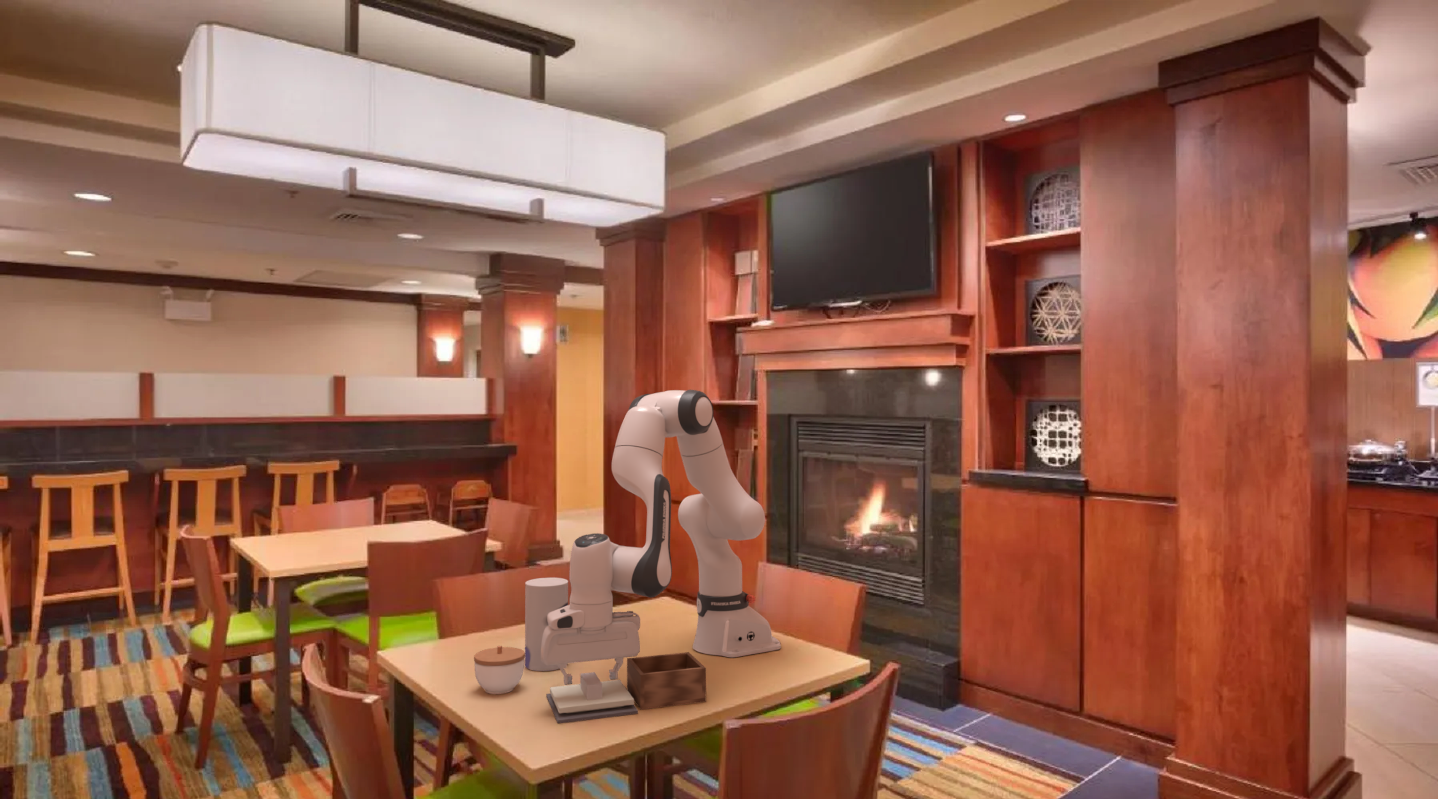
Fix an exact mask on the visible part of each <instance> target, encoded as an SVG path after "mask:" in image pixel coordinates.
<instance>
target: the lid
mask: <svg viewBox="0 0 1438 799" xmlns="http://www.w3.org/2000/svg"><path fill="white" fill-rule="evenodd" d="M579 676H580V678H579V679H580V683H578V684H570V685H559V686H558V685H557V686H551V687H550V686H549V694H550V693H551V696H552V698H553V700H554V703H555V705H556V707H557V709H558V712H559V713H574V712H583V711H591V710H599V709H607V708H616V707H624V706H625V705H633V704H634V705H635V701H634V699H633V697H632V696H631V694H630V693H629V692H628V690H627V686H625V684H624V683H623V682H622V681H621V679H616V680H605V681H601V680H600V678H599V676H598V675H597V674H596V672H595V671H592V672H583V673H582V672H581V673H580V674H579Z"/></svg>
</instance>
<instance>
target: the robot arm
mask: <svg viewBox="0 0 1438 799" xmlns="http://www.w3.org/2000/svg"><path fill="white" fill-rule="evenodd" d="M627 410H628V411H627V412H626V414H625V416H624V419H623V421H622V423H621V425H620V428H619V431H618V433H617V437H616V441H615V446H614V449H613V453H612V460H611V473H612V475H613V477H614V480H615V481H616V482H617V483H618V485H619V486H620V487H621V488H623V489H625V491H628V492H630V493H632V494H634V495H635V496H636V497H638V498H640V499H642V501H643V502H644V504H645V506H646V512H647V513H646V534H645V535H646V536H645V544H644V546H643V547H636V546H625V545H619V544H617V543H614V542H612V541H611V539H610V537H609V536H608V535H607V534H605V533H598V532H597V533H589V534H588V533H587V534H583V535H581V536H578V538H576V539H574V541H573V544H572V545H571V546H572V547H571V551H570V556H569V558H570V559H569V583H570V588H571V589H570V590H571V591H570V592H571V593H570V596H569V603H568V605H567V606H565V607H562V608H560V609H557V610H555V611H552V612H550V613H549V614H548V615H547V621H548V624H549V625H548V626H547V627H546V628H545V630H544V633H543V637H542V644H541V659H542V661H543V663H544V664H545V665H556V664H558V666H559V668H560V669H559V670H560V672H561V673H562V675H563V683H564V686H566V685H573V675H572V673H567V671H566V670H565V669H567V667H568V664H572V663H573V664H574V663H582V662H593V661H594V662H595V661H602V660H611V659H612V660H613V659H614V661H615V663H614V666H613V667H612V669H609V670H608V671H609V672H608V673H609V674H608V675H609V676H608V678H609V681H612V680H619V671H620V669H621V668H622V666H623V664H624V658H635V657H637V656H639V655H638V654H640V652H641V643H640V636H639V635H640V634H639V630H640V628H641V617H640V615H639V614H638V613H636V612H634V611H633V610H627V611H617V612H616V611H614V612H613V609H614V608H613V598H614V597H613V593H612V591H614V592H615V591H616V592H620V593H628V594H635V595H637V596H642V597H647V598H655V597H657V596H658V595H660V594H661V593H663V592H664V591H665V590H666V589H667V587H669V585H670V583H671V581H672V577H673V564H672V557H671V556H672V555H671V528H672V527H671V526H672V524H671V520H672V519H671V518H672V493H671V492H672V489H671V486H670V481H669V480H668V478H667V477H665V475H664V472H663V469H662V468H663V462H662V461H663V458H664V457H663V456H664V450H665V444H666V443H665V442H666V438H674V437H676V441H677V446H678V451H679V453H680V457H681V462H682V464H683V468H684V471H685V475H686V478H687V480H688V482H689V483H690V485H691V486H692V487H693V488H695V489H696V490H697V491H698V492H700V493H697V494H691V495H688V496H686V497H684V498H683V499H682V501H681V503H680V504H679V507H678V510H677V518H678V522H679V525H680V526H681V528H682V529H683V530H684V531H685V532H686V533H687V535H688V537H689V538H690V540H691V542H692V544H693V548H694V550H695V553H696V558H697V563H698V565H697V566H698V591H697V596H696V611H697V615H698V616H697V624H696V631H695V637H694V641H693V644H692V649H693V650H695V651H696V652H698V653H701V654H706V655H711V656H723V657H727V658H737V657H742V656H743V657H744V656H749V655H754V654H755V655H756V654H759V653H760V654H761V653H765V652H771V651H777V650H780V649H781V647H782V646H781V641H780V640H779V639H778V638H776V637H775V636H773V635H772V628H771V625H770V623H769V621H768V620H767V619H766V618H765V617H764V616H763V615H761V614H760V613H759V612H758V611H756V610H755V609H754V608H753V607H751V606H750V604H754V603H755V602H756V597H755V595H753V594H750V593H749V594H748V593H747V592H745V591H743V564H742V561H741V559H740V557H739V556H738V555H737V554H736V553H735V552H734V550H732V548H731V546H730V544H729V541H728V540H731V541H737V542H738V541H746V540H753V539H756V538H757V537H758V536H760V535H761V533H762V531H763V529H764V527H765V523H766V514H765V510H764V508H763V506H762V504H760V503H759V502H758V501H756V499H754V498H752V496H750V494H749V493H748V492H746V490H745V489H744V487H742V485H741V483H740V482H739V481H738V479H737V478H736V476H735V474H734V472H733V470H732V469H731V468H732V467H731V464H730V461H729V458H728V456H727V452H726V449H725V446H724V441H723V438H722V435H721V432H720V429H719V427H718V425H717V422H716V420H715V417H714V406H713V403H712V401H711V399H710V398H709V396H708V395H707V394H706V393H705V392H703V391H701V390H697V389H687V390H682V389H681V390H679V389H674V390H673V389H672V390H666V391H660V392H655V393H644V394H641V395H639V396H637V397H635V398H634V399H633V400H632V401H631V403H630V404H629V406H628V409H627ZM567 663H568V664H567Z"/></svg>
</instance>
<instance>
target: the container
mask: <svg viewBox="0 0 1438 799" xmlns="http://www.w3.org/2000/svg"><path fill="white" fill-rule="evenodd" d="M524 583H525V584H524V585H525V587H524V588H525V592H524V593H525V594H524V598H525V599H524V600H525V602H524V603H525V604H524V605H525V607H524V609H525V610H524V611H525V612H524V613H525V614H524V624H525V625H524V628H525V629H524V635H525V636H524V652H525V658H524V668H525V669H527V670H529V671H530V670H531V671H534V672H535V671H537V672H548V671H556V670H560V668H559V666H558V664H556V665H545V664H544V663H543V661H542V659H541V644H542V637H543V633H544V630H545V628H546V627H547V626H548V625H549V624H548V621H547V615H548V614H549V613H550V612H552V611H555V610H557V609H560V608H562V607H565V606H567V605H569V580H568V579H566V578H562V577H539V578H533V579H529V580H526V581H525V582H524ZM568 664H569V663H567V665H568Z"/></svg>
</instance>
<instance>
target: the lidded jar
mask: <svg viewBox="0 0 1438 799" xmlns="http://www.w3.org/2000/svg"><path fill="white" fill-rule="evenodd" d="M473 661H474V674H475V679H476V681H477V683H478V685H479V686H480V687H481V688H482V689H483V690H484V692H485V693H486V694H489V695H502V694H508V693H510V692H513V691H514V690H515V687H516V686H517V685H518V684H519V683H520V681H521V680H522V678H523V673H524V668H525V650H523V649H521V648H519V647H511V646H509V647H508V646H502V645H498V646H496V647H492V648H487V649H483V650H480V651H478V652H476V653H475V654H474V655H473Z"/></svg>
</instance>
